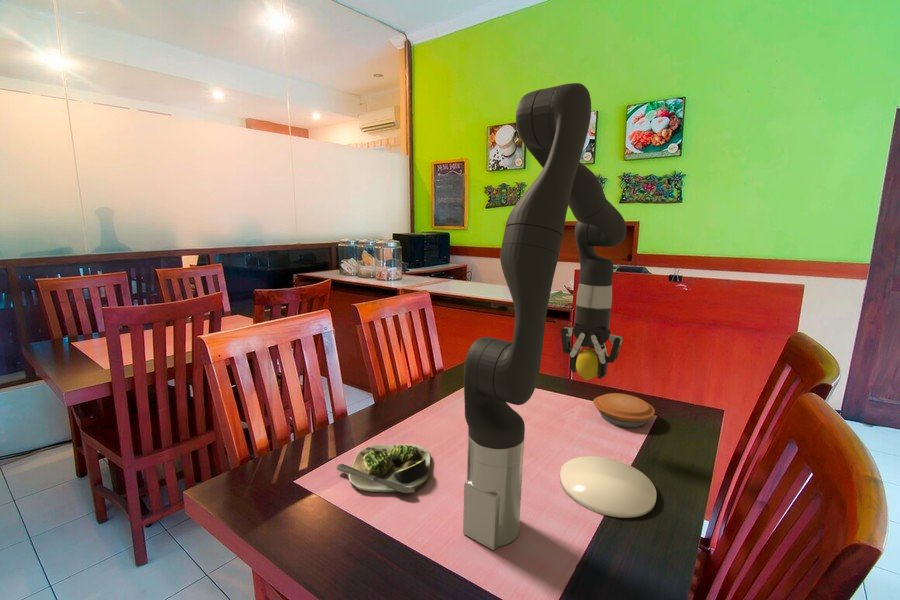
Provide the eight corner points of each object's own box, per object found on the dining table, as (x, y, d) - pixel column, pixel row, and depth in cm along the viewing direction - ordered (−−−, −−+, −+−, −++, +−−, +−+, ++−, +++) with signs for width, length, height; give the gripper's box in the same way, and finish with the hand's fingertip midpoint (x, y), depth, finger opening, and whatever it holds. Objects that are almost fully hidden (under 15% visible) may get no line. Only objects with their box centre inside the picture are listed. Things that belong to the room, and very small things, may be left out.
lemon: (601, 386, 94) (604, 352, 93) (575, 383, 95) (578, 350, 94) (597, 377, 99) (600, 345, 98) (573, 375, 100) (576, 343, 99)
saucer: (643, 532, 71) (644, 526, 71) (545, 490, 82) (545, 485, 81) (664, 482, 85) (665, 476, 85) (578, 452, 96) (579, 447, 95)
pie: (665, 422, 112) (667, 404, 111) (632, 437, 103) (634, 419, 102) (614, 401, 124) (616, 385, 123) (581, 414, 115) (582, 397, 115)
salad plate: (325, 499, 78) (324, 477, 78) (348, 449, 96) (348, 430, 95) (427, 502, 78) (427, 480, 77) (432, 451, 96) (432, 432, 95)
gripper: (556, 302, 95) (552, 372, 98) (621, 310, 87) (614, 387, 90) (569, 297, 101) (564, 364, 104) (631, 305, 93) (623, 377, 96)
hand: (587, 374), depth 97 cm, fingers closed on lemon, 5 cm apart
